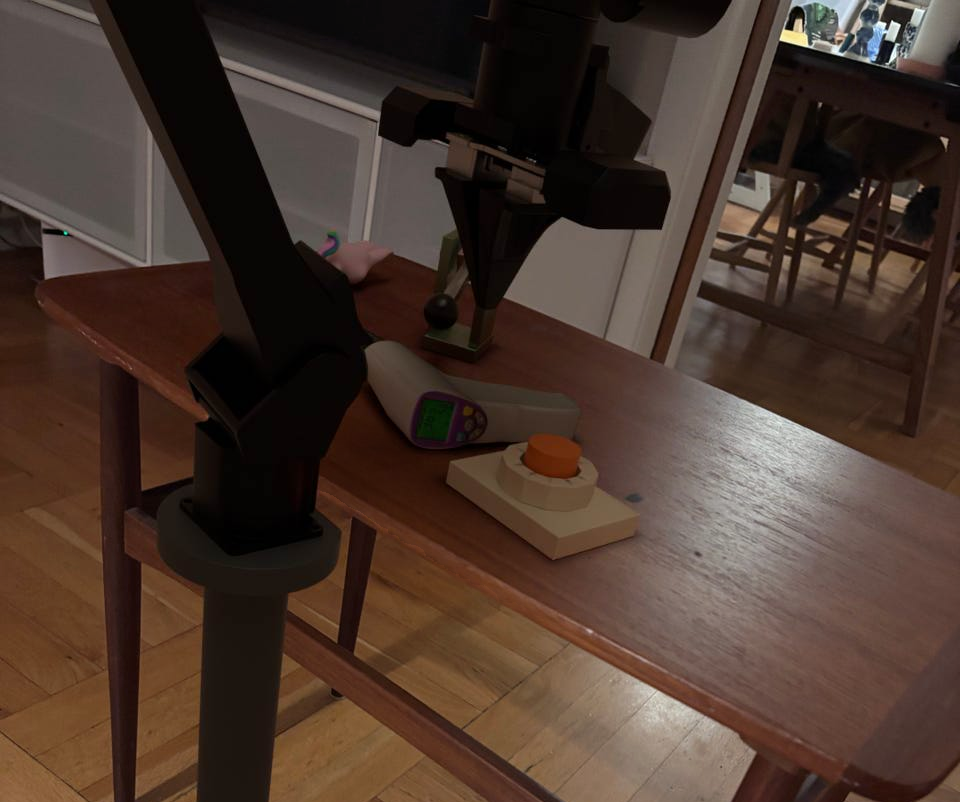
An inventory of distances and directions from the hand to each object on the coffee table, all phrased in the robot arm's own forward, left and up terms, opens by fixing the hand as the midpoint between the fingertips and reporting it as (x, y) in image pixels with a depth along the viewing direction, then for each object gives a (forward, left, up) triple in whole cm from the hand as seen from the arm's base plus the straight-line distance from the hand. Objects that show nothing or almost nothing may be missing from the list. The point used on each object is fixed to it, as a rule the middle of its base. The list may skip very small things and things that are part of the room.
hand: (486, 307), depth 59 cm
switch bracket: (+20, +23, -13) cm, 33 cm away
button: (+5, -4, -10) cm, 12 cm away
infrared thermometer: (+10, +10, -13) cm, 19 cm away
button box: (+5, -4, -13) cm, 14 cm away
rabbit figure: (+18, +40, -13) cm, 46 cm away
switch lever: (+17, +21, -8) cm, 29 cm away
